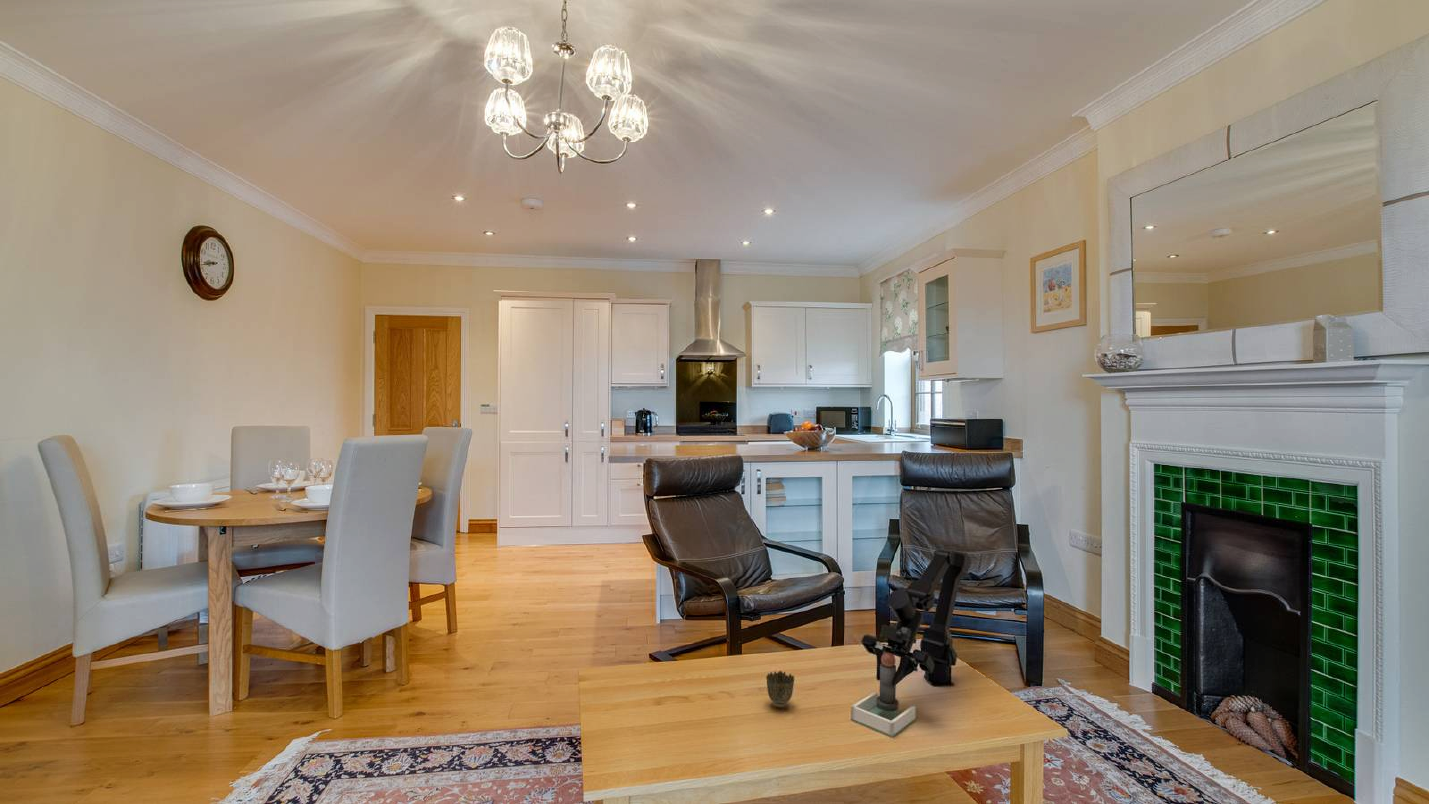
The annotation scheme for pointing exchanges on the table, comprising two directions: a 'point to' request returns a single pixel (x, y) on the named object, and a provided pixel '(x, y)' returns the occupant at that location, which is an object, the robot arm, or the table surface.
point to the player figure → (887, 684)
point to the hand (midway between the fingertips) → (885, 682)
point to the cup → (780, 688)
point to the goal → (881, 716)
